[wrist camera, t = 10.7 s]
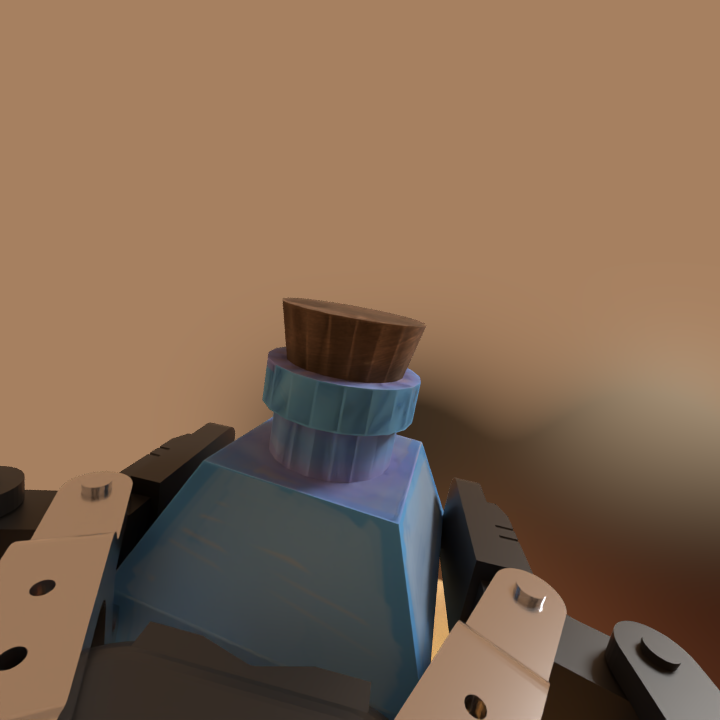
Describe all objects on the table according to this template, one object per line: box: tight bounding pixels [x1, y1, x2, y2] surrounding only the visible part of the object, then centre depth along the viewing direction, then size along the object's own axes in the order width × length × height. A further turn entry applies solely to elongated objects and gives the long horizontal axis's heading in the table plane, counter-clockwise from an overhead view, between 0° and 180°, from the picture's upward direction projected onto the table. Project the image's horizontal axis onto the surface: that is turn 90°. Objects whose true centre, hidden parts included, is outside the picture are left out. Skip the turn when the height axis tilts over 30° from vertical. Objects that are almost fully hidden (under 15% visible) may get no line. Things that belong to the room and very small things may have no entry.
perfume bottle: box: [113, 298, 443, 720], centre depth 9 cm, size 6×6×12 cm
